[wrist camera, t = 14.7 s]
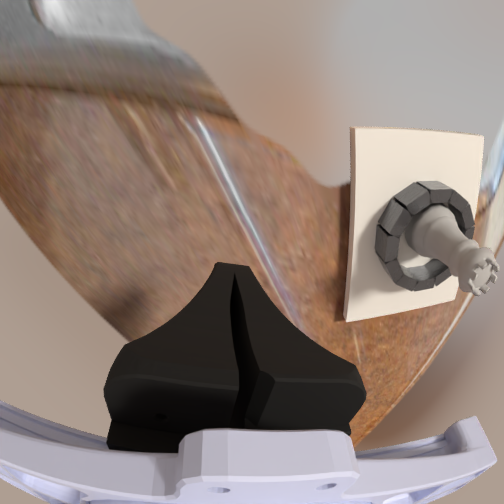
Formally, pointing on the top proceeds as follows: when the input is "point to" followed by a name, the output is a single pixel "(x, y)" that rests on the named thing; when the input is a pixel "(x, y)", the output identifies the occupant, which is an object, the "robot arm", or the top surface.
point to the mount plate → (383, 190)
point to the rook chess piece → (451, 248)
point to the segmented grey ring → (397, 221)
